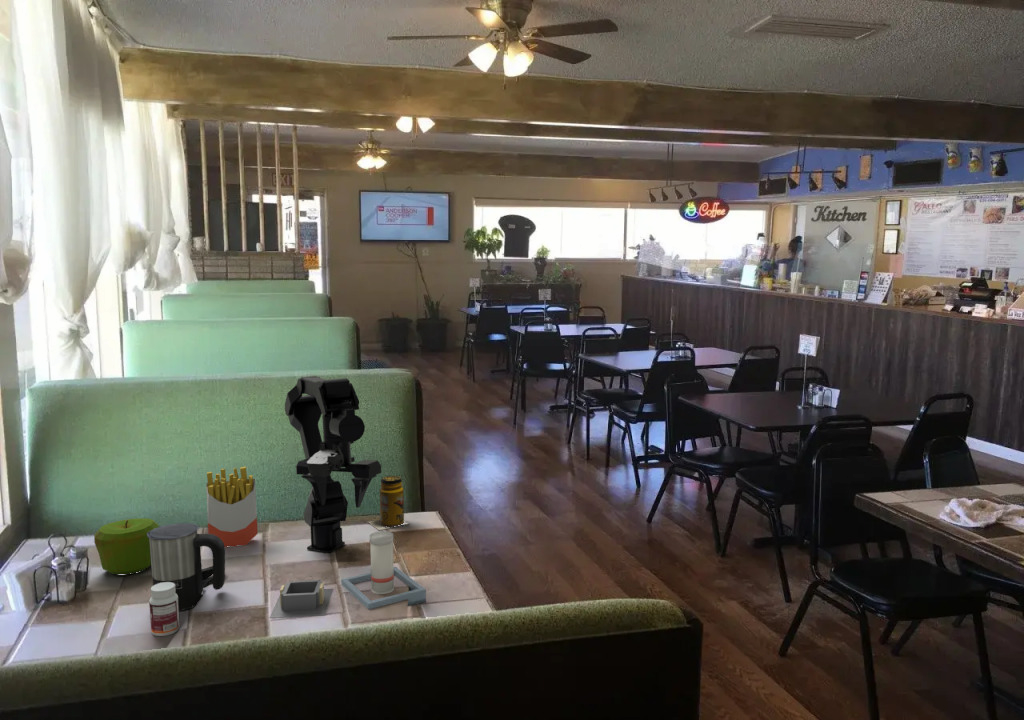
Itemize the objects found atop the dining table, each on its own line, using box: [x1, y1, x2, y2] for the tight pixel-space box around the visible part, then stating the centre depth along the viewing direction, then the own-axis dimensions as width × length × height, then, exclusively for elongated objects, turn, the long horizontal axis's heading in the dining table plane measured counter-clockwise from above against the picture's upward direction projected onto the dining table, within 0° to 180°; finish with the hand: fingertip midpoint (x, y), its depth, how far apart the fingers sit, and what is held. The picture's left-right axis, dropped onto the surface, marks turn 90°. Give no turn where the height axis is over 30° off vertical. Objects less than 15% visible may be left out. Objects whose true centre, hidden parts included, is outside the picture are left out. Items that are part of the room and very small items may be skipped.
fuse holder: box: [269, 579, 334, 619], centre depth 147 cm, size 12×10×5 cm
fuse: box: [369, 530, 395, 595], centre depth 153 cm, size 5×5×12 cm
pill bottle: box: [148, 582, 181, 637], centre depth 139 cm, size 5×5×8 cm
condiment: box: [368, 475, 405, 531], centre depth 197 cm, size 7×8×12 cm
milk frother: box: [147, 522, 226, 612], centre depth 154 cm, size 14×16×15 cm
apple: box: [93, 517, 160, 575], centre depth 167 cm, size 12×12×11 cm
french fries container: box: [205, 466, 258, 548], centre depth 183 cm, size 5×11×18 cm, turn 109°
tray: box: [340, 566, 427, 610], centre depth 153 cm, size 14×12×2 cm
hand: (340, 505), depth 170 cm, fingers open, 9 cm apart
